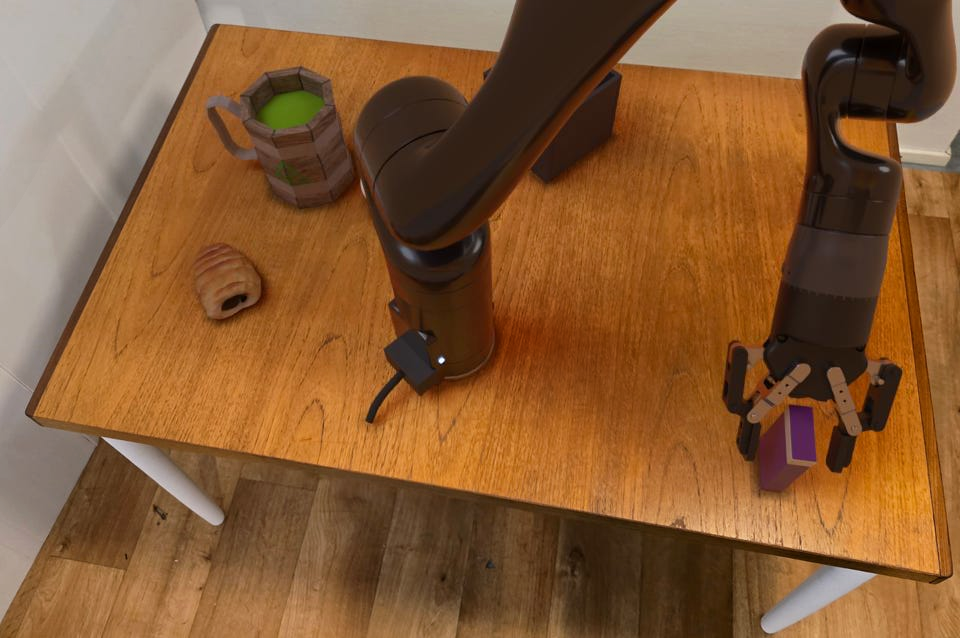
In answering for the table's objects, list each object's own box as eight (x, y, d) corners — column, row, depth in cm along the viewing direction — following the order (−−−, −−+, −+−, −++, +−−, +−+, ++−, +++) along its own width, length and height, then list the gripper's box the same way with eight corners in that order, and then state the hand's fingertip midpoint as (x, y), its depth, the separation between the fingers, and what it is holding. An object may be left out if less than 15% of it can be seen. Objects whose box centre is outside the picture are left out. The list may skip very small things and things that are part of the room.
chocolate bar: (759, 490, 70) (791, 459, 63) (757, 439, 73) (788, 403, 65) (782, 493, 70) (817, 462, 62) (780, 442, 73) (813, 406, 65)
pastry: (185, 265, 85) (172, 246, 82) (240, 240, 86) (230, 220, 83) (213, 327, 81) (201, 309, 77) (271, 300, 82) (262, 281, 79)
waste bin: (547, 184, 89) (551, 125, 81) (484, 133, 93) (482, 72, 85) (611, 136, 93) (622, 75, 84) (549, 89, 97) (553, 26, 88)
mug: (365, 145, 93) (348, 70, 83) (343, 214, 88) (321, 143, 77) (246, 131, 95) (214, 56, 84) (217, 198, 90) (179, 126, 79)
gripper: (750, 282, 59) (715, 472, 63) (942, 302, 57) (891, 495, 62) (731, 264, 66) (700, 435, 70) (901, 281, 64) (858, 455, 69)
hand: (790, 463), depth 66 cm, fingers open, 7 cm apart
